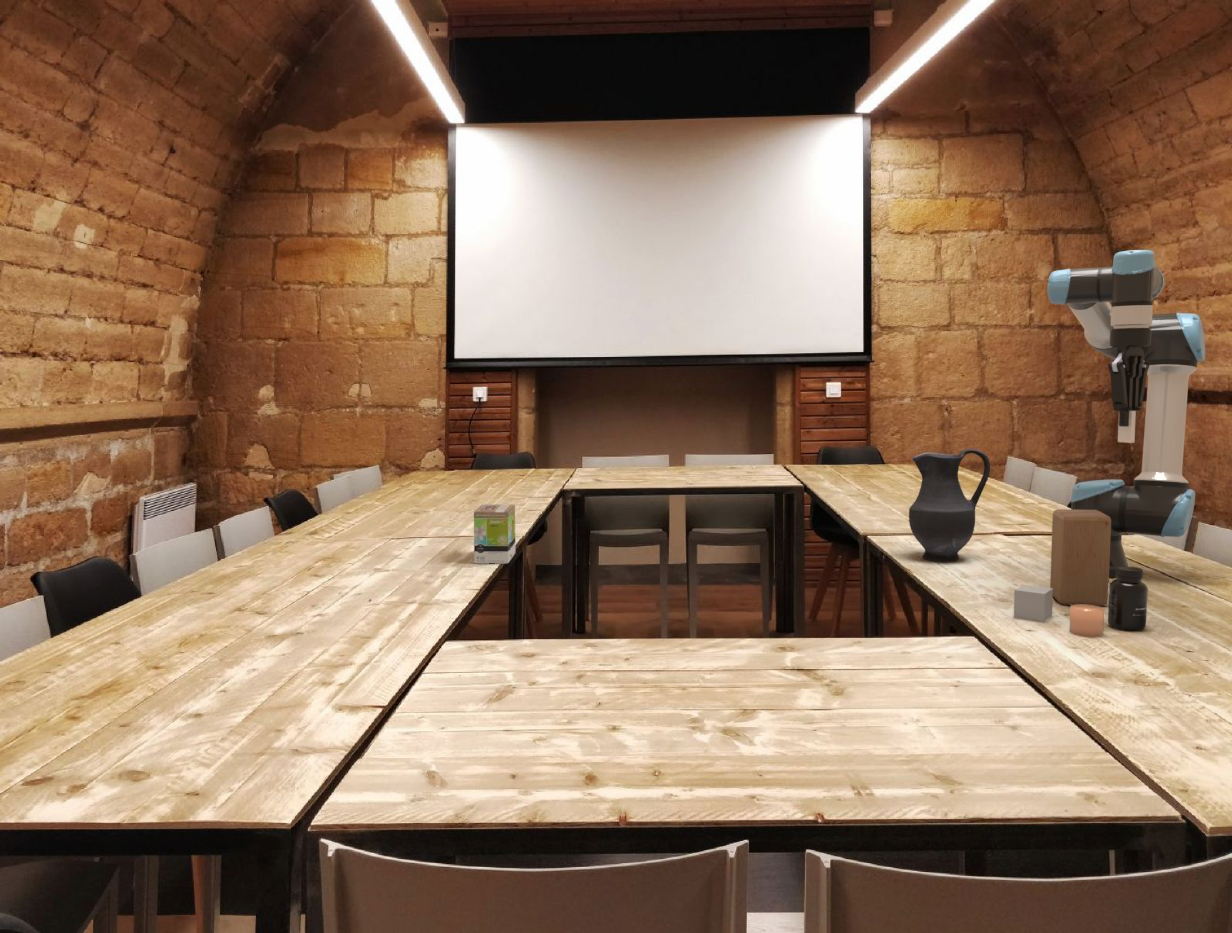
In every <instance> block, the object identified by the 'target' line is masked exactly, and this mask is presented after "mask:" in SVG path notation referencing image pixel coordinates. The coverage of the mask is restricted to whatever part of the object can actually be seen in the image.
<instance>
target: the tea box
mask: <svg viewBox="0 0 1232 933" xmlns="http://www.w3.org/2000/svg"><path fill="white" fill-rule="evenodd" d="M473 550H474V551H473V557H474V558H473V559H474V560H473V563H474V564H475V565H476V564H477V565H479V564H480V565H482V564H483V565H486V564H487V565H490V564H489V563H495V564H496V565H498V564H499V565H500V564H501V565H502V564H509V563H510V561H511V560H512V559H513V557H514V556H515V554H516V505H515V504H481V505H480V506H479V507H478V508H477V509H475V510H474V511H473ZM495 564H494V565H495Z"/></svg>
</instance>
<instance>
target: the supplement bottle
mask: <svg viewBox="0 0 1232 933" xmlns="http://www.w3.org/2000/svg"><path fill="white" fill-rule="evenodd" d="M1115 576H1116V577H1115V578H1116V579H1113V580H1112V581H1110V583H1109V587H1108V610H1107V611H1108V612H1107V624H1108V626H1109V627H1111V628H1114V629H1116V630H1121V631H1129V632H1140V631H1143V630H1144V629H1146V626H1147V616H1148V615H1147V614H1148V613H1147V612H1148V596H1149V595H1148V594H1149V593H1148V592H1149V587H1148V585H1147V584H1146V583H1145V582H1143V581H1142V580H1143V579H1144V569H1142V568H1140V567H1136V566H1130V565H1128V566H1120V567H1116V574H1115Z"/></svg>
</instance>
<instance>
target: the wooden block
mask: <svg viewBox="0 0 1232 933" xmlns="http://www.w3.org/2000/svg"><path fill="white" fill-rule="evenodd" d="M1051 524H1052V528H1051V552H1050V553H1051V554H1050V556H1051V557H1050V558H1051V560H1050V580H1049V581H1050V584H1049V585H1050V586H1049V588H1053V598H1054V599H1055V600H1056V602H1058V603H1059V604H1061V605H1063V606H1071V605H1076V604H1086V605H1094V606H1099V607H1104V606H1107V604H1109V588H1110V583H1109V582H1110V581H1109V580H1110V577H1109V561H1110V536H1111V519H1110V517H1109V516H1107V515H1105V514H1103V513H1101V512H1100V511H1097V510H1071V509H1066V508H1065V509H1058V508H1057V509H1055V510H1054V511H1053V512H1052V521H1051Z"/></svg>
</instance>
